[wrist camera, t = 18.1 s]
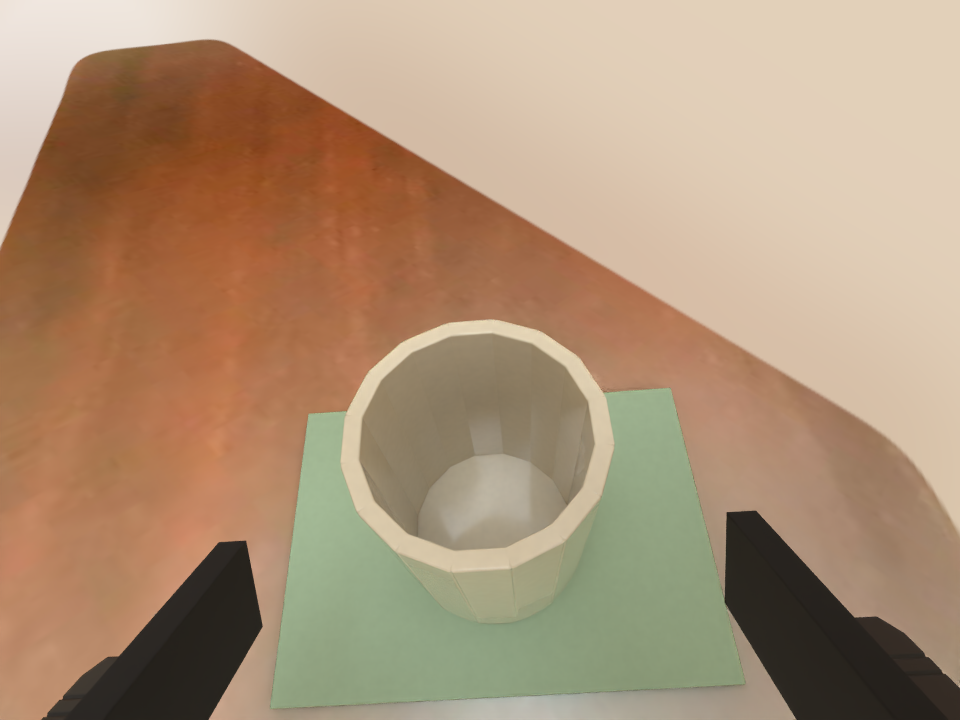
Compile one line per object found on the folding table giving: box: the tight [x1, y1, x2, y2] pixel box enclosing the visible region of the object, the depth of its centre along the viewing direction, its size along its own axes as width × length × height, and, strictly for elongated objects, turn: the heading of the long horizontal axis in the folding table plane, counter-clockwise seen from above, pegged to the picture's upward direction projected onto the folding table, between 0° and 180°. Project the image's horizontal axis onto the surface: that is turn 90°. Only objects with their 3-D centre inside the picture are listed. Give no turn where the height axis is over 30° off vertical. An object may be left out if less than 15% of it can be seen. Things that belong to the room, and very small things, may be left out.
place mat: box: [270, 388, 745, 709], centre depth 27 cm, size 20×14×1 cm
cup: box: [340, 319, 615, 624], centre depth 22 cm, size 8×8×12 cm
